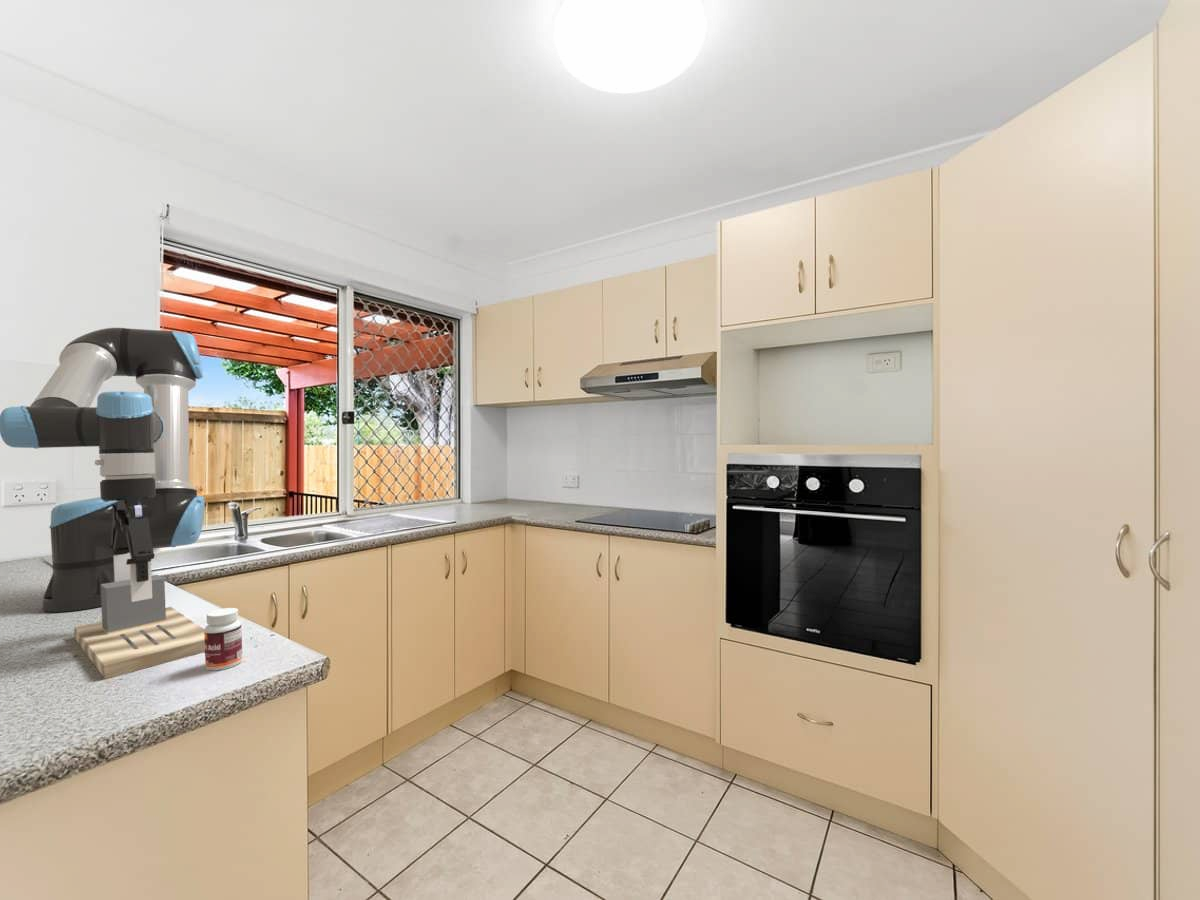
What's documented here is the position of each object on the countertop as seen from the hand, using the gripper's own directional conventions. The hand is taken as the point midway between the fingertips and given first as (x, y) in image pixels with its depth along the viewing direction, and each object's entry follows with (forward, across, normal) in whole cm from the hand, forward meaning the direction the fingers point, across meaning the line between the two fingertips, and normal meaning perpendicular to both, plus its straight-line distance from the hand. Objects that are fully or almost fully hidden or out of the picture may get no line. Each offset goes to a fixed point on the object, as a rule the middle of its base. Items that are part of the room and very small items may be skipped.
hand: (132, 594), depth 97 cm
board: (+8, +5, 0) cm, 10 cm away
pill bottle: (+8, +28, +6) cm, 30 cm away
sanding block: (+6, 0, 0) cm, 6 cm away
